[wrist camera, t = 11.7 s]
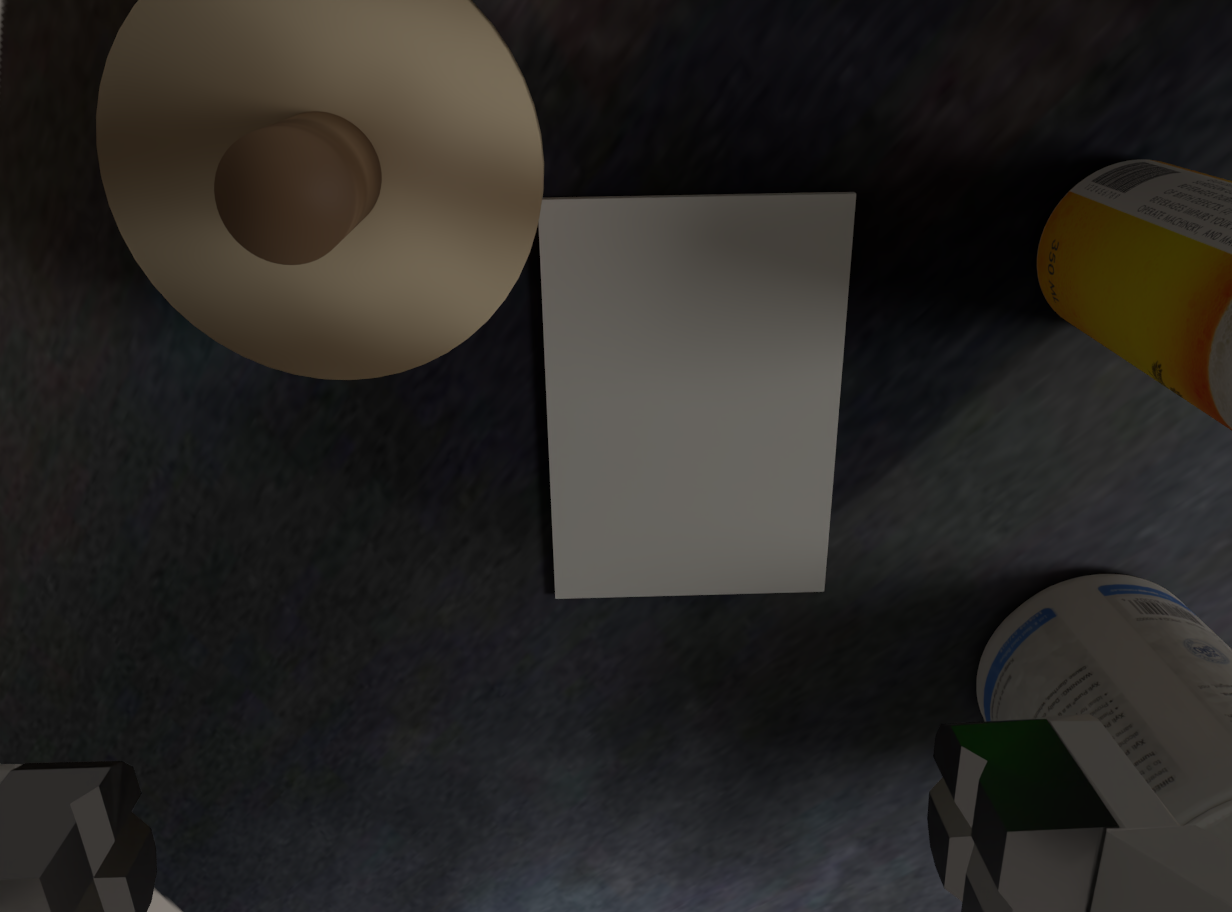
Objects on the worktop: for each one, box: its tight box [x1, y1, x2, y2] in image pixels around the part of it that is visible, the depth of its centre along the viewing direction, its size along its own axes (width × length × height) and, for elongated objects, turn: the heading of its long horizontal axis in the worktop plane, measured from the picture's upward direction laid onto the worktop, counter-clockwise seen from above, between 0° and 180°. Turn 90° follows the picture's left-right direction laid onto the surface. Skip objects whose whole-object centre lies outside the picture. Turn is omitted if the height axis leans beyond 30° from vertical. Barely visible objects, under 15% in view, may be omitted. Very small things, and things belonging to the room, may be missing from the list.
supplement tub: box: [976, 574, 1232, 845], centre depth 37 cm, size 10×10×15 cm
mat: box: [539, 192, 856, 599], centre depth 38 cm, size 16×11×1 cm
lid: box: [96, 0, 544, 380], centre depth 27 cm, size 12×12×5 cm
